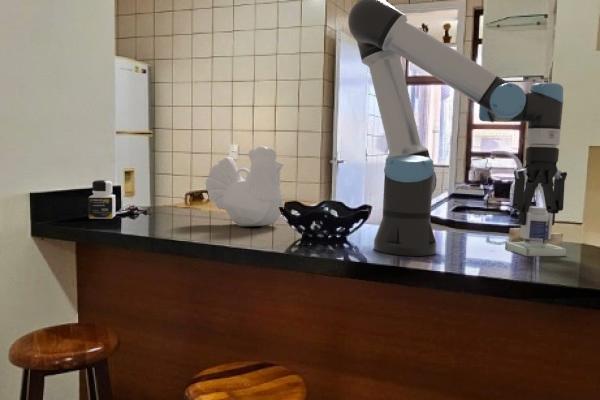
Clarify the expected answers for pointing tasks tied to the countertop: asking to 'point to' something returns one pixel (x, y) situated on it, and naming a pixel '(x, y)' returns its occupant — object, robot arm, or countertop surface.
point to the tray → (535, 249)
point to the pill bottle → (537, 227)
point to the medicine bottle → (102, 200)
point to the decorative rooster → (248, 188)
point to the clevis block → (555, 239)
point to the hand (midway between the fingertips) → (535, 237)
